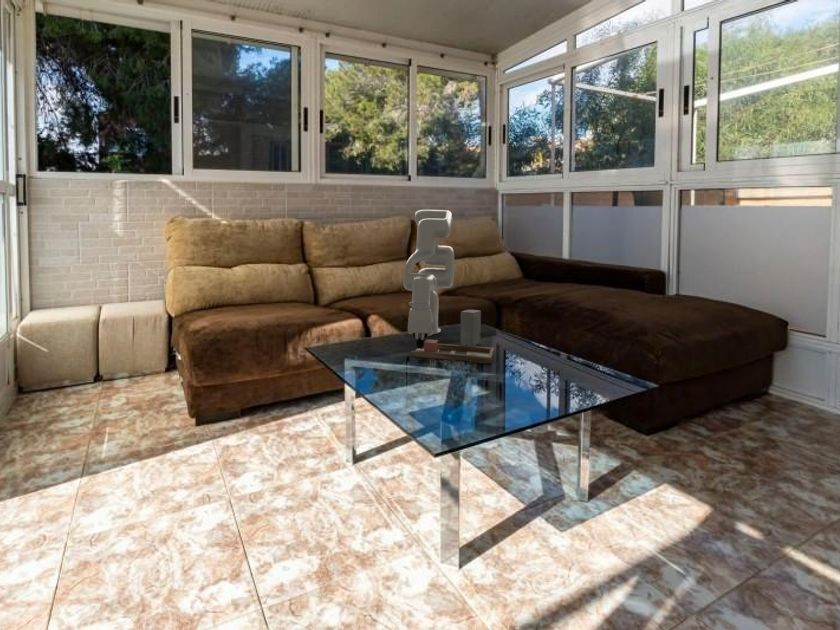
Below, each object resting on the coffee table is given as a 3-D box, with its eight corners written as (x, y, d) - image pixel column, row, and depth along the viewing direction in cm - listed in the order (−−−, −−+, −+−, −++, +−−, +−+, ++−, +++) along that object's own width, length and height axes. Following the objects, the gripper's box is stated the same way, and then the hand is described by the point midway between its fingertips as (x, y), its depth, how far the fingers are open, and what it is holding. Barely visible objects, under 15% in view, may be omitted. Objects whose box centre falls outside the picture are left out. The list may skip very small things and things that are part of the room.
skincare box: (472, 348, 248) (473, 313, 245) (458, 345, 252) (459, 311, 249) (481, 343, 255) (482, 310, 252) (467, 341, 259) (468, 308, 256)
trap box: (418, 347, 247) (418, 342, 246) (493, 353, 240) (494, 347, 240) (411, 357, 232) (411, 351, 232) (490, 363, 226) (491, 357, 225)
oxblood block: (426, 350, 241) (426, 339, 240) (437, 351, 240) (438, 340, 239) (424, 353, 236) (424, 342, 235) (435, 354, 235) (435, 343, 234)
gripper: (401, 306, 233) (401, 348, 236) (436, 308, 229) (435, 351, 233) (405, 303, 240) (405, 344, 244) (439, 305, 237) (438, 346, 240)
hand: (420, 347), depth 238 cm, fingers closed
